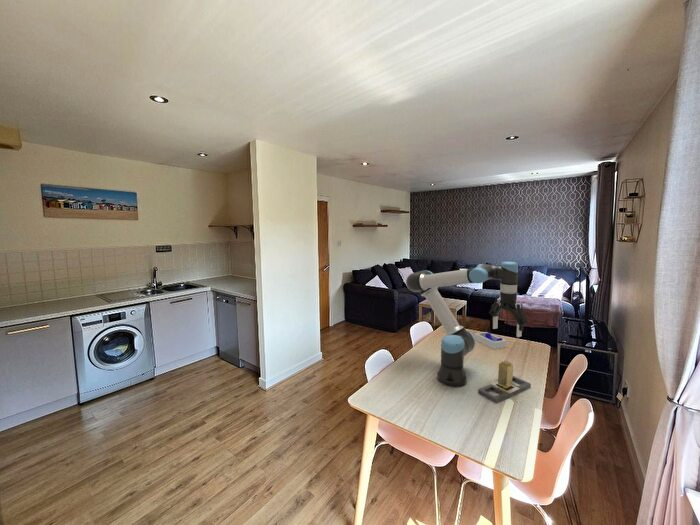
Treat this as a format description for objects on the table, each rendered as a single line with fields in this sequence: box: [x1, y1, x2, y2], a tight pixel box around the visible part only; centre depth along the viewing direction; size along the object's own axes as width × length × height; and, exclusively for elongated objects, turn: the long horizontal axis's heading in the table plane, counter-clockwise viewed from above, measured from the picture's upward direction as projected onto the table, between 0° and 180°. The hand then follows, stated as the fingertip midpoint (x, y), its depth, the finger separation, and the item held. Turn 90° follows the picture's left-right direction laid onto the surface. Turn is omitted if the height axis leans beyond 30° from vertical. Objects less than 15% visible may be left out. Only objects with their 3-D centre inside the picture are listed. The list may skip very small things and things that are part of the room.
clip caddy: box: [474, 331, 507, 350], centre depth 208 cm, size 10×18×5 cm, turn 19°
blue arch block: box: [485, 332, 503, 342], centre depth 207 cm, size 12×4×6 cm, turn 19°
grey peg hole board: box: [477, 375, 532, 404], centre depth 148 cm, size 28×10×2 cm, turn 119°
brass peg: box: [497, 360, 514, 391], centre depth 148 cm, size 5×5×15 cm
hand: (506, 332), depth 151 cm, fingers open, 13 cm apart
